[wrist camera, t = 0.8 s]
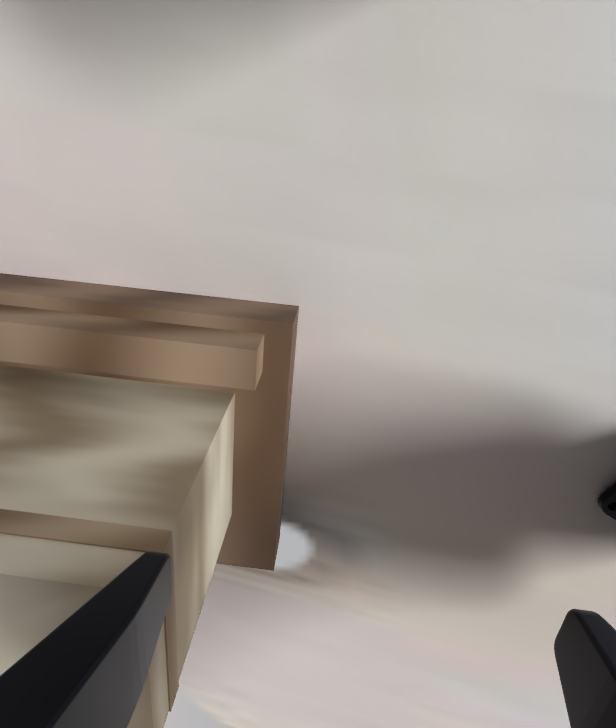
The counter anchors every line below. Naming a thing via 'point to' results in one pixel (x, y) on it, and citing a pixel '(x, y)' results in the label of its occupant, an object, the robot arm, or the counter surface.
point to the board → (175, 372)
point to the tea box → (109, 504)
